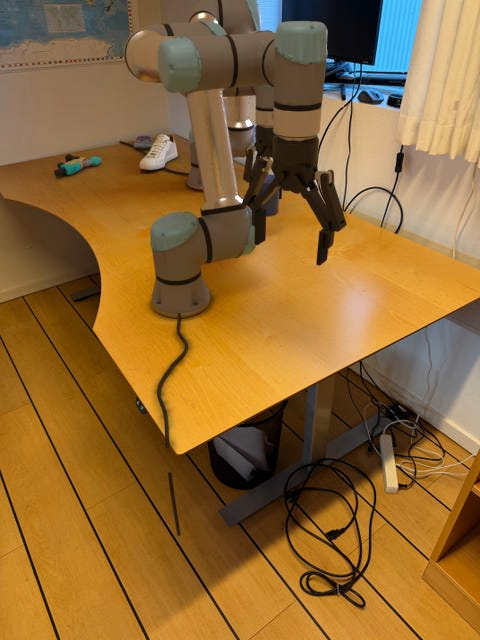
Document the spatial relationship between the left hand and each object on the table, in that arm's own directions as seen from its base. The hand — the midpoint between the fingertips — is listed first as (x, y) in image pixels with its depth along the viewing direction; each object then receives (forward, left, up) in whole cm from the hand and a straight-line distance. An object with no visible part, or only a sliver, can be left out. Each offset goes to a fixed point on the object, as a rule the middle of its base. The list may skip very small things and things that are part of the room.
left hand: (289, 252), depth 89 cm
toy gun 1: (+125, +95, -28) cm, 159 cm away
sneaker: (+135, +57, -28) cm, 149 cm away
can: (+64, +6, -19) cm, 67 cm away
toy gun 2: (+161, +66, -28) cm, 176 cm away
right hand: (+64, +6, -16) cm, 66 cm away
